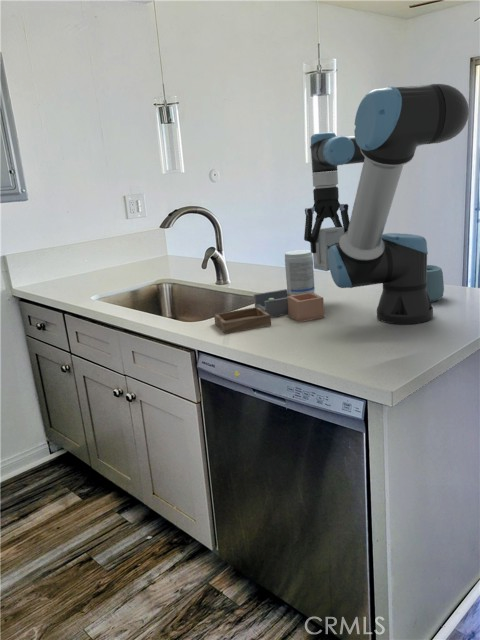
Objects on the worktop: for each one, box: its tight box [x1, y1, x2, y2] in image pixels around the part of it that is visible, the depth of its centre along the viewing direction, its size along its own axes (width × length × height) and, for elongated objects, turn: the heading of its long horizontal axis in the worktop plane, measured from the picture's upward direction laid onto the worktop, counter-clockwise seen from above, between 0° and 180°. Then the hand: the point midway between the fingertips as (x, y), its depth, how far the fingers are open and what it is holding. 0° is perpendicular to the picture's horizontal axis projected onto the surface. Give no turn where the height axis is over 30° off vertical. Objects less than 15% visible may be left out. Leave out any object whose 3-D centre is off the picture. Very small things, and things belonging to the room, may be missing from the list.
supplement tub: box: [284, 249, 316, 296], centre depth 182 cm, size 10×10×15 cm
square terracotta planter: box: [287, 292, 325, 323], centre depth 155 cm, size 8×8×6 cm
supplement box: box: [312, 226, 344, 272], centre depth 164 cm, size 7×7×13 cm
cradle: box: [253, 288, 295, 318], centre depth 164 cm, size 12×11×6 cm
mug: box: [427, 264, 445, 303], centre depth 163 cm, size 15×11×10 cm
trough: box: [213, 306, 272, 334], centre depth 154 cm, size 11×14×3 cm
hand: (329, 261), depth 165 cm, fingers closed on supplement box, 8 cm apart
